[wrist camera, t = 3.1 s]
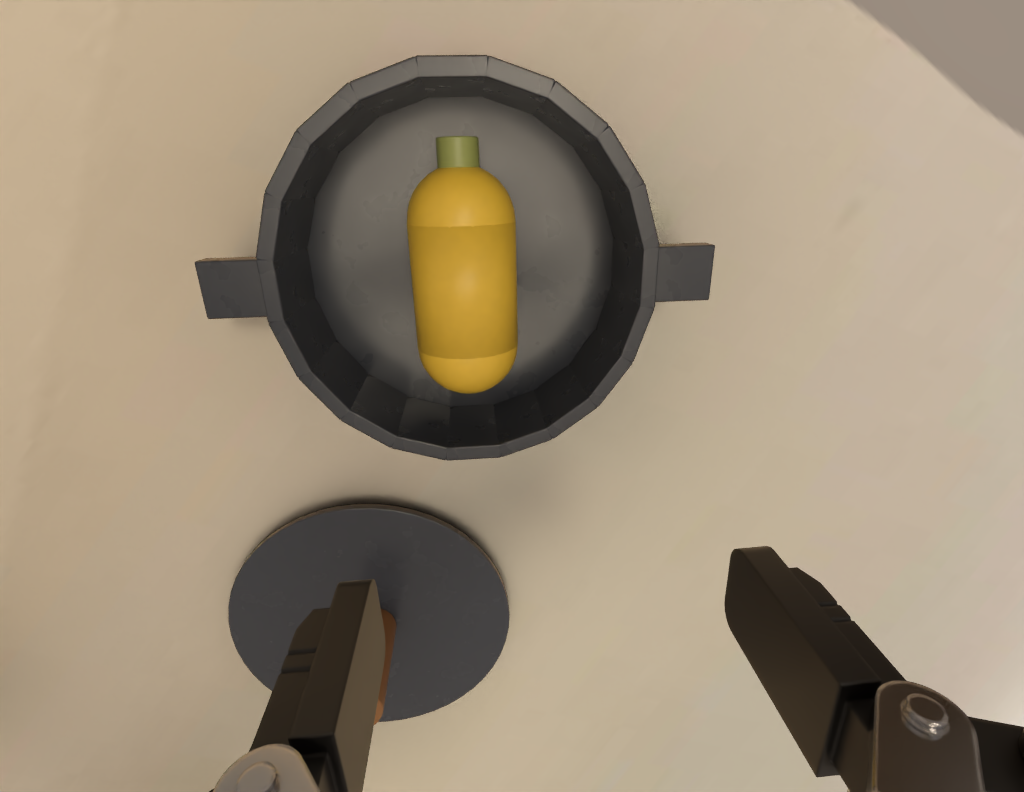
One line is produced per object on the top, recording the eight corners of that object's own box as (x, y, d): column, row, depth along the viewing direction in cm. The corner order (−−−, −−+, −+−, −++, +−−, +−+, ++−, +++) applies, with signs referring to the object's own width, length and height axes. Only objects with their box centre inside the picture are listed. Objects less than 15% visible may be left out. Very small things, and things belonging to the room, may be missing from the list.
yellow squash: (514, 372, 29) (523, 406, 25) (425, 376, 29) (418, 411, 25) (509, 140, 25) (519, 131, 21) (405, 142, 25) (392, 133, 20)
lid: (511, 697, 39) (520, 801, 32) (263, 718, 38) (221, 831, 31) (504, 489, 33) (514, 567, 26) (206, 507, 31) (137, 593, 25)
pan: (660, 403, 31) (698, 446, 26) (274, 423, 30) (235, 473, 25) (689, 78, 25) (746, 52, 20) (206, 83, 24) (134, 57, 19)
